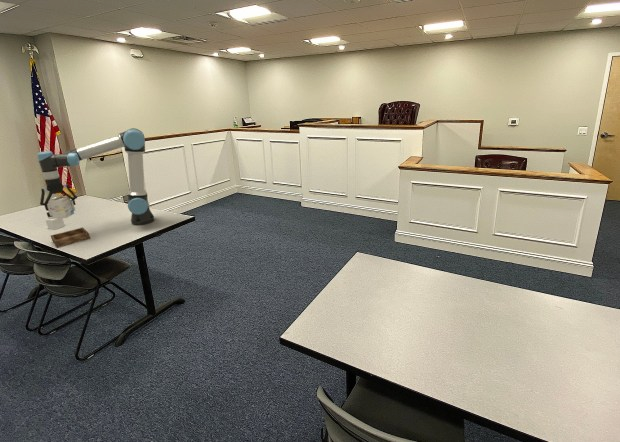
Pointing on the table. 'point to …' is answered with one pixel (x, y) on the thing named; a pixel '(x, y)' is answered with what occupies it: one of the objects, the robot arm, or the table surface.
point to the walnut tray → (70, 237)
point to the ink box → (61, 207)
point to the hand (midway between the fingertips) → (62, 212)
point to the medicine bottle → (54, 222)
